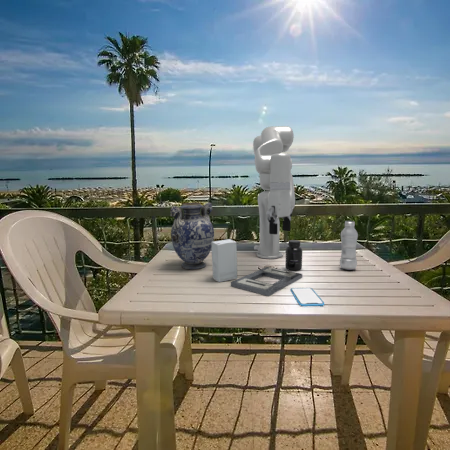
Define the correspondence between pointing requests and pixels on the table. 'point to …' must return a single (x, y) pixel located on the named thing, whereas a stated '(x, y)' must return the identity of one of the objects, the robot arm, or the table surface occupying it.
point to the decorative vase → (192, 233)
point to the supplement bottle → (293, 256)
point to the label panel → (266, 288)
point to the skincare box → (224, 260)
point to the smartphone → (306, 297)
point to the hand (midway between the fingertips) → (280, 232)
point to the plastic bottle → (348, 246)
